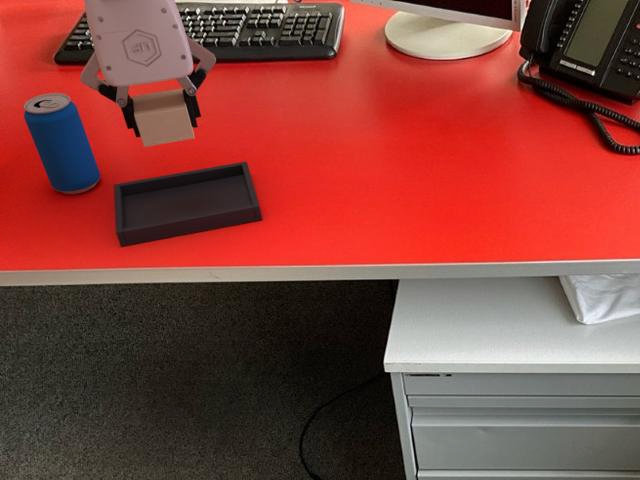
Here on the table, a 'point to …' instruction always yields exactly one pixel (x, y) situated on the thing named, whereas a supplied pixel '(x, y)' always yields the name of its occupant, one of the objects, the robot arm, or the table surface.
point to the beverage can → (61, 143)
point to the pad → (162, 117)
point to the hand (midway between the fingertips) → (166, 126)
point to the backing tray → (185, 203)
